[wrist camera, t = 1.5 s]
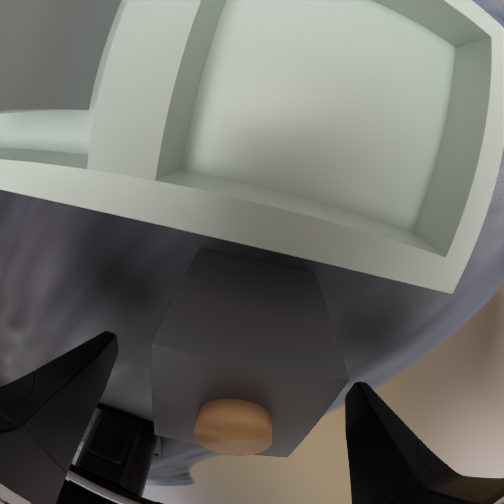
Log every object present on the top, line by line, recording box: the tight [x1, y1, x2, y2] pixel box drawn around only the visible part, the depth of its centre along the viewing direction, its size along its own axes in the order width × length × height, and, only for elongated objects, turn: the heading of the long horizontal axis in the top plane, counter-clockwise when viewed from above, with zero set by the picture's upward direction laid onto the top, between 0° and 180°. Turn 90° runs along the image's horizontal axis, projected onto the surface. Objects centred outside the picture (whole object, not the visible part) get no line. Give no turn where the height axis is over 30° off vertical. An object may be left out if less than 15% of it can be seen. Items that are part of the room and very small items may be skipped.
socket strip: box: [0, 0, 504, 294], centre depth 7 cm, size 11×23×4 cm, turn 77°
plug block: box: [151, 247, 349, 457], centre depth 10 cm, size 5×5×7 cm
